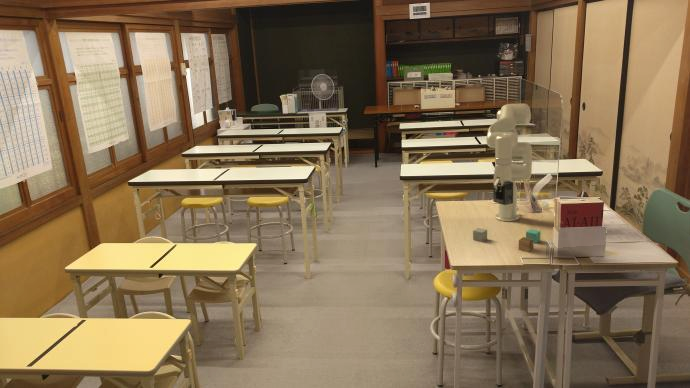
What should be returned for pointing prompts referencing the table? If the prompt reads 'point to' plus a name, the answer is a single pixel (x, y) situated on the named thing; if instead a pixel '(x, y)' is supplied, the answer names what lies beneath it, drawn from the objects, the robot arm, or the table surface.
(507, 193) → the box
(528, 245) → the walnut cube
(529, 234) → the teal cube
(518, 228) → the table surface
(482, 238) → the slate cube
